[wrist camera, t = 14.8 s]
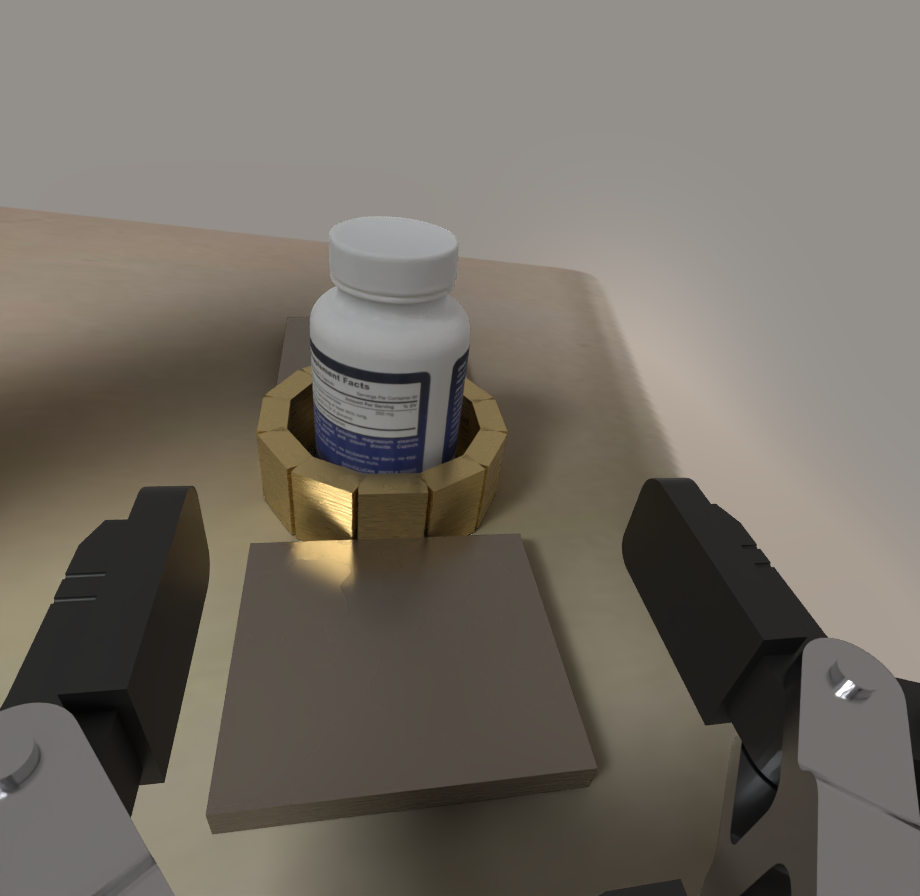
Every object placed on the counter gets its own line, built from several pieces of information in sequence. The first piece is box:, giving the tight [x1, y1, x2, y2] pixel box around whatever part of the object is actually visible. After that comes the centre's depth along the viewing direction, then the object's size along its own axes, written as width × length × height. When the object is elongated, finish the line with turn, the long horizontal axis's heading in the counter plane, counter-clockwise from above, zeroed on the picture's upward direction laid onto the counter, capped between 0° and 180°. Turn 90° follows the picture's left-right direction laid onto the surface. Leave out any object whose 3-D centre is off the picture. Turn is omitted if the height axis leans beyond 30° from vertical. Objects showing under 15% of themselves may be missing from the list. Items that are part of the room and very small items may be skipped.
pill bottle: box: [310, 216, 470, 474], centre depth 21 cm, size 5×5×10 cm
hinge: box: [206, 317, 598, 834], centre depth 23 cm, size 9×25×3 cm, turn 9°
